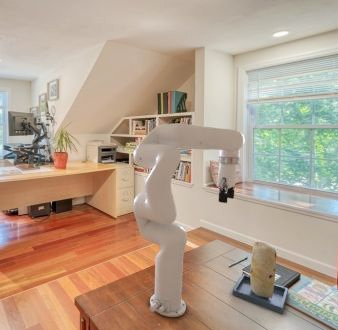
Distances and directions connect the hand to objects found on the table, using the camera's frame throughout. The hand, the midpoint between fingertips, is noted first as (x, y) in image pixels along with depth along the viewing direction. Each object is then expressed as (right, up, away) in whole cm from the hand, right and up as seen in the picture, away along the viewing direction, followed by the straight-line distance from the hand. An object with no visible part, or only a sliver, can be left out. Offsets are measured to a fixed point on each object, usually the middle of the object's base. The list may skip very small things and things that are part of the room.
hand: (226, 200), depth 110 cm
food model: (+8, -35, -10) cm, 38 cm away
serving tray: (+8, -36, -10) cm, 38 cm away
